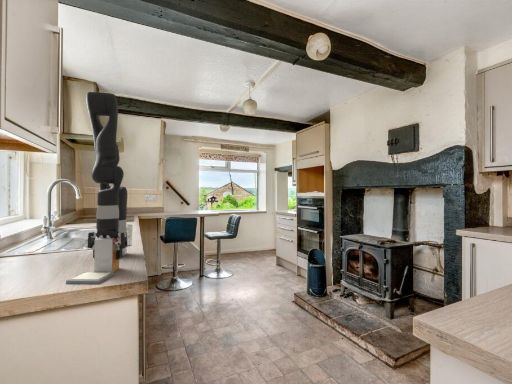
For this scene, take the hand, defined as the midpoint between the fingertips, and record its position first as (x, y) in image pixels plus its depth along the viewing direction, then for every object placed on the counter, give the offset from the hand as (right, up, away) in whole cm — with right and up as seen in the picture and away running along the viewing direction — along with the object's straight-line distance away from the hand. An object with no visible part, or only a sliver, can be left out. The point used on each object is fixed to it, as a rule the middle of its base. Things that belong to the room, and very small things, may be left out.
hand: (107, 259), depth 99 cm
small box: (0, -5, 0) cm, 5 cm away
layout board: (0, -5, -9) cm, 10 cm away
